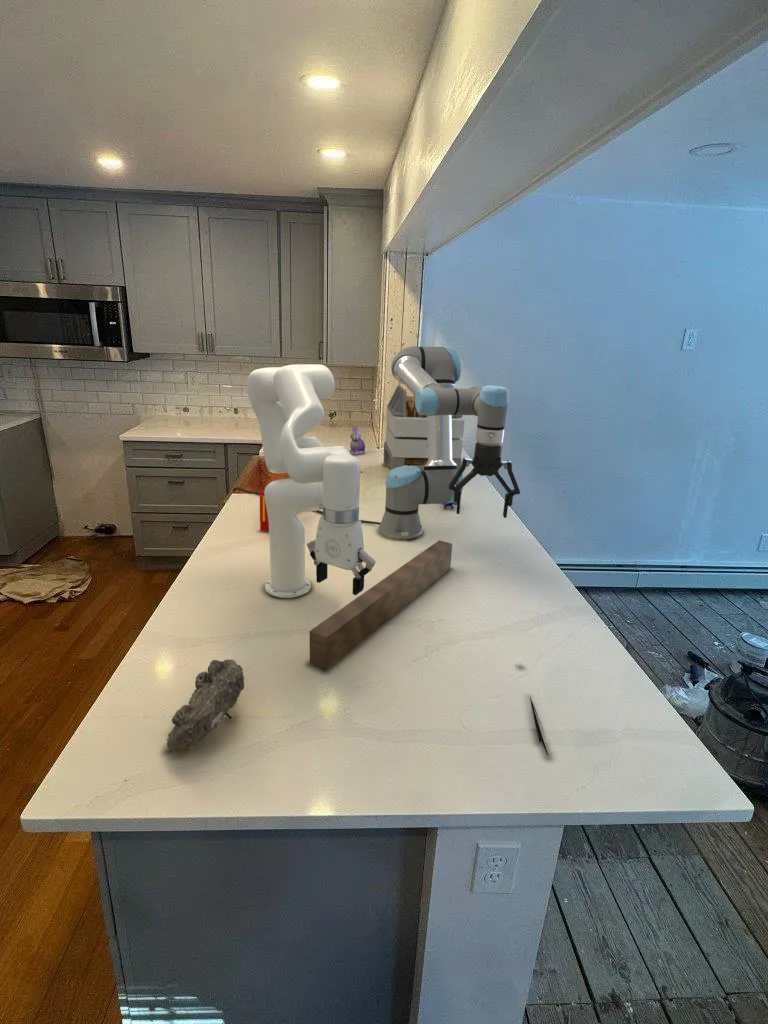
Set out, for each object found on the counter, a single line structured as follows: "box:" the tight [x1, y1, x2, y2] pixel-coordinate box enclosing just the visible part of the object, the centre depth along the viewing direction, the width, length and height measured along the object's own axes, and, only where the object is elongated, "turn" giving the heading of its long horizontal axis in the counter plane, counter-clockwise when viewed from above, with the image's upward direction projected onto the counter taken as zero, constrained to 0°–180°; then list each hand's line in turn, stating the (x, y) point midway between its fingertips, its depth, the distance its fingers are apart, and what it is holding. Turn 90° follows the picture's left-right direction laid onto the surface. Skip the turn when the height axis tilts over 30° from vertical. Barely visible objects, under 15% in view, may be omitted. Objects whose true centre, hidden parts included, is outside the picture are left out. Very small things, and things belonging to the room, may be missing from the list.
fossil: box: [166, 658, 245, 754], centre depth 106 cm, size 22×10×15 cm
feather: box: [529, 696, 549, 756], centre depth 114 cm, size 2×28×2 cm
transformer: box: [383, 384, 465, 471], centre depth 268 cm, size 34×33×41 cm
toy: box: [259, 492, 269, 532], centre depth 208 cm, size 12×13×30 cm
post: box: [309, 540, 453, 672], centre depth 149 cm, size 64×5×8 cm, turn 149°
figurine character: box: [441, 502, 457, 510], centre depth 230 cm, size 7×8×15 cm
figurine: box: [349, 424, 366, 456], centre depth 305 cm, size 9×10×15 cm
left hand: (339, 586), depth 125 cm, fingers open, 9 cm apart
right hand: (481, 514), depth 165 cm, fingers open, 13 cm apart
